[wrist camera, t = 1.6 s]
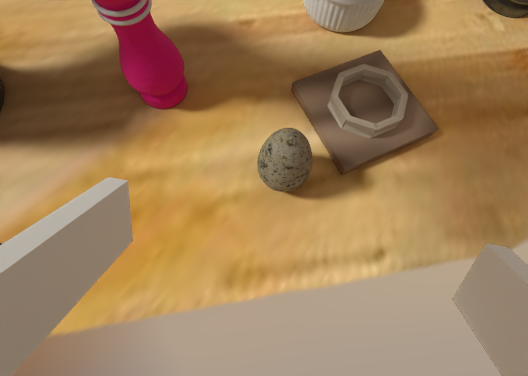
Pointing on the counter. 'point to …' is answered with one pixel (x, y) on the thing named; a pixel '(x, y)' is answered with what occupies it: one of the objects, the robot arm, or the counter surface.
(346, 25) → the ramekin
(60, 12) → the counter surface
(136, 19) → the pepper mill
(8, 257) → the robot arm
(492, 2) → the container
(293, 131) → the decorative egg
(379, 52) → the egg stand
